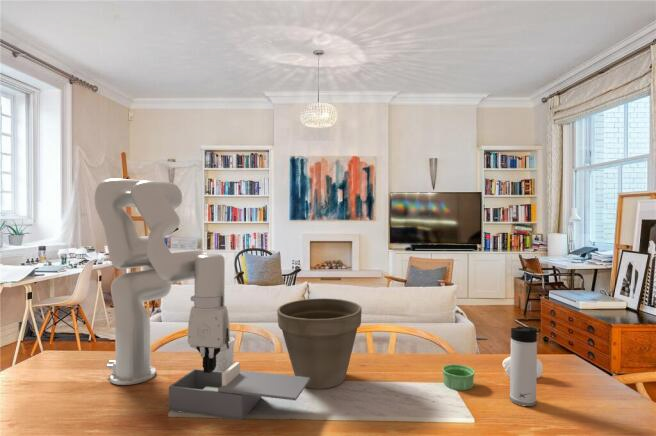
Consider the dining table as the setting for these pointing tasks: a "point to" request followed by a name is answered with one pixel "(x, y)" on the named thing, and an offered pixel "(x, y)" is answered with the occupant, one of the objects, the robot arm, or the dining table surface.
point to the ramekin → (458, 376)
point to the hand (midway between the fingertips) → (209, 370)
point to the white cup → (225, 357)
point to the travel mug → (523, 365)
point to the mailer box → (208, 396)
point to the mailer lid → (262, 383)
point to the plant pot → (320, 338)
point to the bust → (507, 366)
